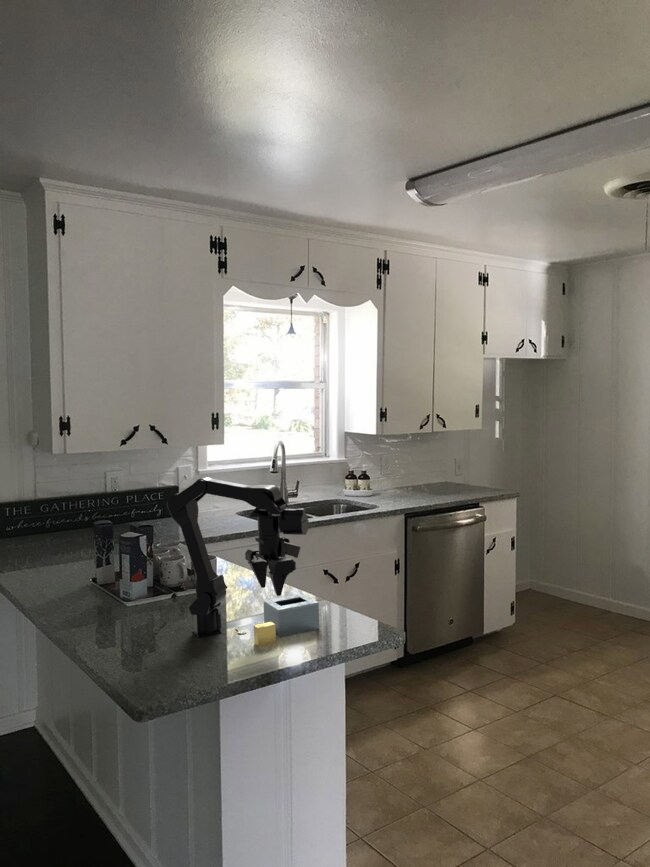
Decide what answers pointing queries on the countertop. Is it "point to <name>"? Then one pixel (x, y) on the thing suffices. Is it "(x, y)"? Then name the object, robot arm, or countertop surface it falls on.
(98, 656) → the countertop surface
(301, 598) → the box
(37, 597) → the countertop surface
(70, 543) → the countertop surface
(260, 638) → the block
